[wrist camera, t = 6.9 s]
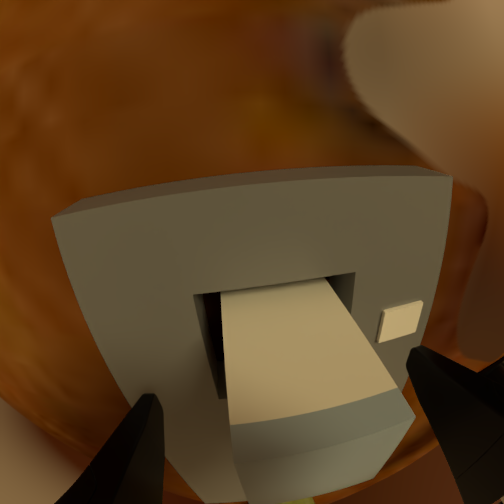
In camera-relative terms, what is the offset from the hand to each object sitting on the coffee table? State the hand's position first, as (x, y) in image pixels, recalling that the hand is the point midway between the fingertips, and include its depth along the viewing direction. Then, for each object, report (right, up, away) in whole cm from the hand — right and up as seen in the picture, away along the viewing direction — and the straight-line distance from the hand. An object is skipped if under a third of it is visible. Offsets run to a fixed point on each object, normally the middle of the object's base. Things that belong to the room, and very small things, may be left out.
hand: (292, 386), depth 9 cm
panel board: (0, -5, +7) cm, 8 cm away
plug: (0, +2, +4) cm, 4 cm away
